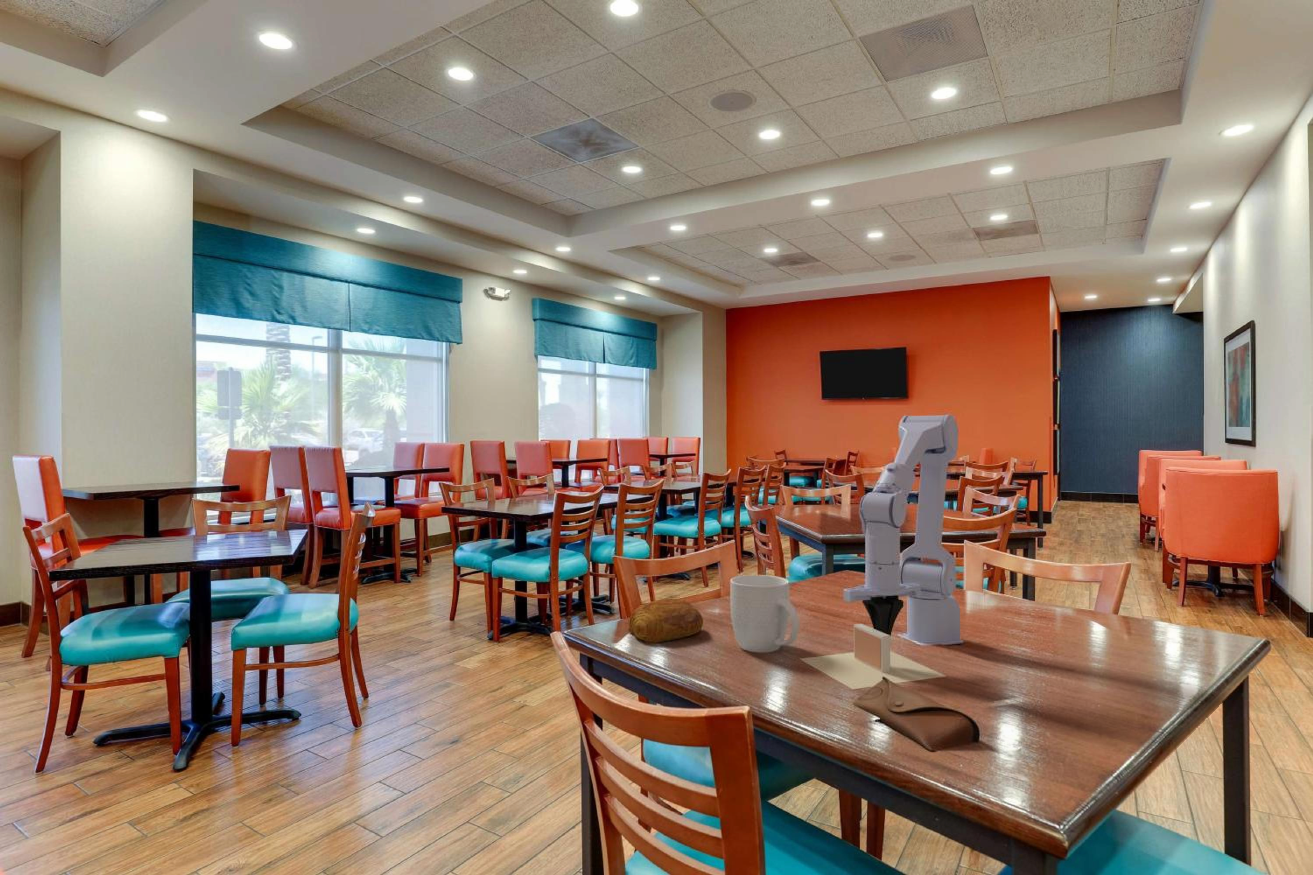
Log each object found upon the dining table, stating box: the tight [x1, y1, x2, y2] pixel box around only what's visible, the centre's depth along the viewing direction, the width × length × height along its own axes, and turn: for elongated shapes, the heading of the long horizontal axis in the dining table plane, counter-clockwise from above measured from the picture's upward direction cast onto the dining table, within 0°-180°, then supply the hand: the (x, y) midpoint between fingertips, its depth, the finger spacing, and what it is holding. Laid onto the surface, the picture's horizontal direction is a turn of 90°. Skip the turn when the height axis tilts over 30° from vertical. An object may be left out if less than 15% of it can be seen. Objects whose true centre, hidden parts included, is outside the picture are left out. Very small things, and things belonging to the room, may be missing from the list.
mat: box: [799, 650, 947, 690], centre depth 121 cm, size 18×16×1 cm
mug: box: [729, 574, 800, 654], centre depth 132 cm, size 15×11×13 cm
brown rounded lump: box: [628, 598, 704, 644], centre depth 145 cm, size 14×16×8 cm
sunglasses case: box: [851, 677, 981, 753], centre depth 100 cm, size 18×7×7 cm
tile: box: [853, 623, 891, 672], centre depth 122 cm, size 2×8×6 cm, turn 19°
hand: (882, 639), depth 123 cm, fingers closed
